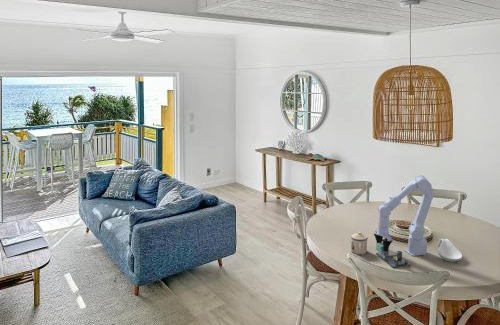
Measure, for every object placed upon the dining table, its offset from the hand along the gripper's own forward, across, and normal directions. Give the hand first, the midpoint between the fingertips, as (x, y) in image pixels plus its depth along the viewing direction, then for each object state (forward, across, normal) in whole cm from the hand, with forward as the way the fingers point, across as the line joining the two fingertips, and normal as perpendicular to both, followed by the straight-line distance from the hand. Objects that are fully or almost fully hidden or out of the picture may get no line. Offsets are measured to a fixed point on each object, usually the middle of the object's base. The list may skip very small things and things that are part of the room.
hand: (382, 248), depth 227 cm
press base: (+2, +12, -1) cm, 12 cm away
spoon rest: (+2, +14, +32) cm, 34 cm away
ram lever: (0, +17, -1) cm, 17 cm away
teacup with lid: (+2, -1, -14) cm, 14 cm away
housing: (+2, 0, 0) cm, 2 cm away
